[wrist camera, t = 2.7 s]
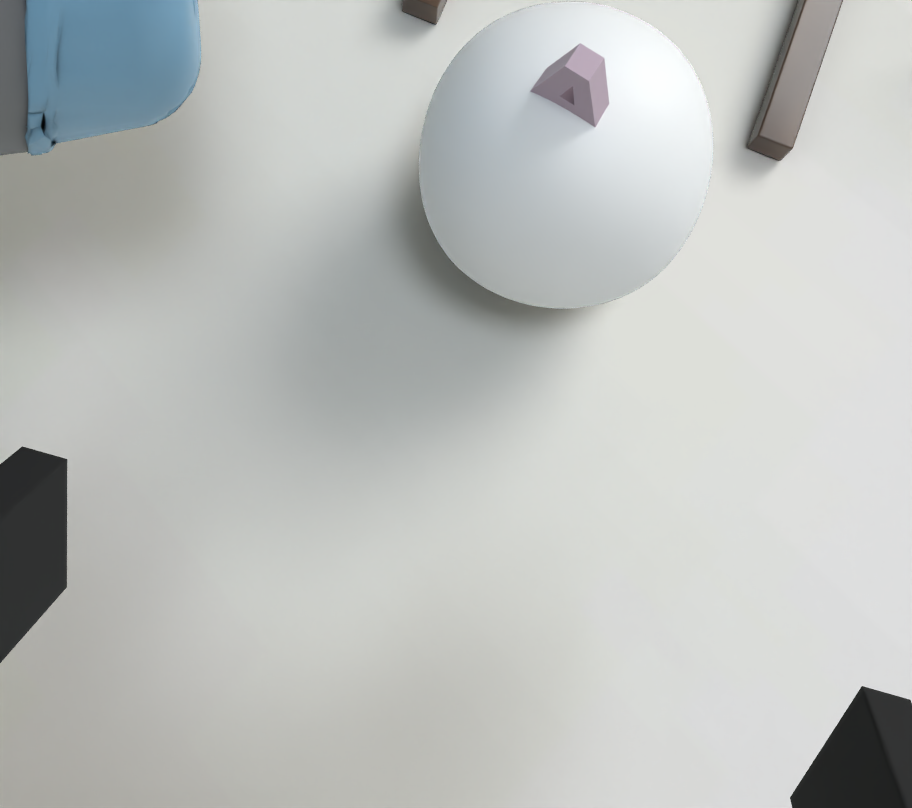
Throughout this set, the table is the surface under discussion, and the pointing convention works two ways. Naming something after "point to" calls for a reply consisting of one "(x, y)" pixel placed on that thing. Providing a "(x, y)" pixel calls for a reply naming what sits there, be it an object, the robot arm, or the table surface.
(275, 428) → the table surface
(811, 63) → the bay
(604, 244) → the ornament
